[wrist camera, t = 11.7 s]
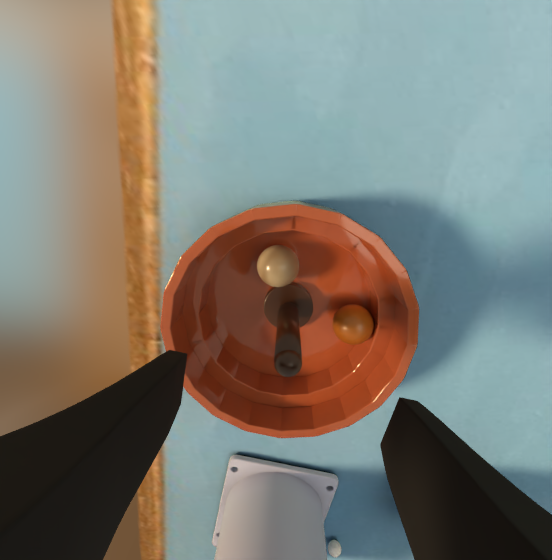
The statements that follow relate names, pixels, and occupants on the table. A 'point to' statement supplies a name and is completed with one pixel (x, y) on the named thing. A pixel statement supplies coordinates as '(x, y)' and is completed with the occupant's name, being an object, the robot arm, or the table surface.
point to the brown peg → (288, 324)
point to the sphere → (334, 548)
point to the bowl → (314, 334)
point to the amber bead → (353, 324)
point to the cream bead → (278, 266)
